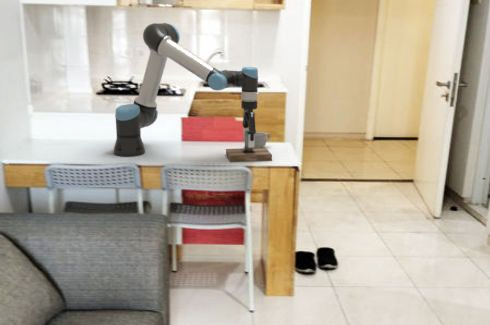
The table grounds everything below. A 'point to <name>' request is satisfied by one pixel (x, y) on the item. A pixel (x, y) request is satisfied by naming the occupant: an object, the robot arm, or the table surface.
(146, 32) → the robot arm
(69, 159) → the table surface
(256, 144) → the teacup
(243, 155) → the socket block
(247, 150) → the peg
